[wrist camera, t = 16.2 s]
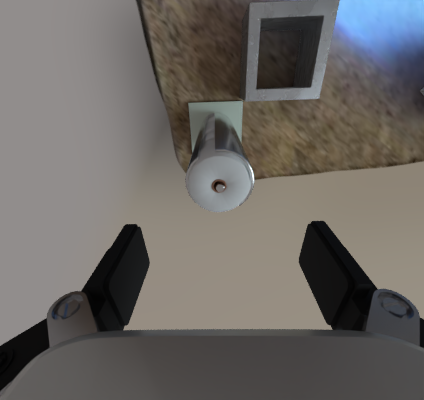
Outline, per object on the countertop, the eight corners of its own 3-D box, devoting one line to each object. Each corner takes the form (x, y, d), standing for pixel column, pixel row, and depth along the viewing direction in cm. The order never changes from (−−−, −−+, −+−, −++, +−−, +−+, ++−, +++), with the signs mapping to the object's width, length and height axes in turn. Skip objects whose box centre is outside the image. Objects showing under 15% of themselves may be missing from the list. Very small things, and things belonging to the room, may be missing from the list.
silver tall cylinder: (199, 144, 41) (182, 214, 20) (201, 110, 38) (185, 148, 16) (230, 148, 41) (248, 220, 20) (236, 114, 38) (264, 157, 17)
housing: (242, 20, 32) (249, 2, 25) (312, 17, 32) (339, -2, 25) (239, 97, 37) (245, 101, 31) (299, 95, 37) (318, 98, 30)
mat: (188, 102, 38) (188, 103, 37) (242, 100, 38) (242, 101, 37) (193, 154, 43) (192, 155, 42) (240, 153, 43) (240, 154, 42)
